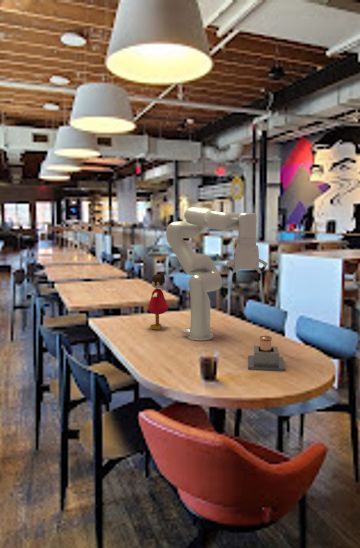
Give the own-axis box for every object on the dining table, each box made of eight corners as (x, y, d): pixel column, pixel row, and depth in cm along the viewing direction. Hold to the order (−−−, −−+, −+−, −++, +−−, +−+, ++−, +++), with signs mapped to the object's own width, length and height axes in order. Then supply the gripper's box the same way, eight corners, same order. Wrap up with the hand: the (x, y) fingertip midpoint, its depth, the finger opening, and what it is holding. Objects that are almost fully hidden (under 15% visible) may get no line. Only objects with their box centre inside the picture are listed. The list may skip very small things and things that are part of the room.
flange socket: (247, 369, 162) (248, 354, 161) (247, 357, 175) (248, 343, 175) (285, 371, 159) (285, 355, 159) (282, 359, 173) (282, 345, 172)
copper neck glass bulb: (259, 363, 165) (260, 338, 164) (259, 359, 170) (259, 335, 169) (271, 363, 165) (272, 338, 163) (271, 360, 169) (271, 335, 168)
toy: (150, 322, 237) (150, 269, 234) (170, 322, 237) (169, 269, 233) (145, 335, 211) (144, 275, 207) (167, 335, 211) (166, 275, 207)
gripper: (226, 242, 177) (226, 283, 179) (268, 242, 174) (267, 283, 176) (227, 241, 185) (226, 280, 187) (267, 241, 182) (266, 281, 184)
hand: (246, 282), depth 182 cm, fingers open, 9 cm apart
